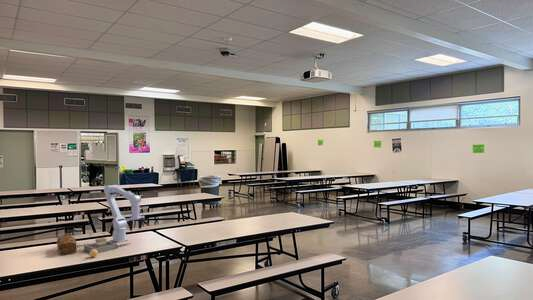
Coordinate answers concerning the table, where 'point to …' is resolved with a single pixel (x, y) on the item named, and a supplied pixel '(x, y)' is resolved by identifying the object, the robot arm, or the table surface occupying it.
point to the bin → (101, 249)
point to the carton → (100, 242)
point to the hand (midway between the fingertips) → (135, 229)
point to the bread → (66, 245)
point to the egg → (93, 253)
